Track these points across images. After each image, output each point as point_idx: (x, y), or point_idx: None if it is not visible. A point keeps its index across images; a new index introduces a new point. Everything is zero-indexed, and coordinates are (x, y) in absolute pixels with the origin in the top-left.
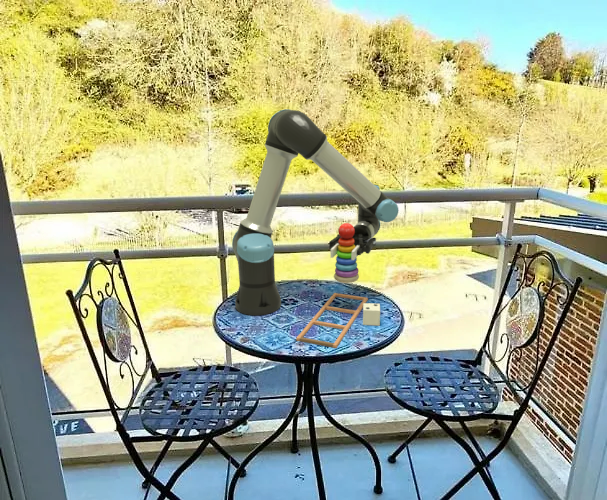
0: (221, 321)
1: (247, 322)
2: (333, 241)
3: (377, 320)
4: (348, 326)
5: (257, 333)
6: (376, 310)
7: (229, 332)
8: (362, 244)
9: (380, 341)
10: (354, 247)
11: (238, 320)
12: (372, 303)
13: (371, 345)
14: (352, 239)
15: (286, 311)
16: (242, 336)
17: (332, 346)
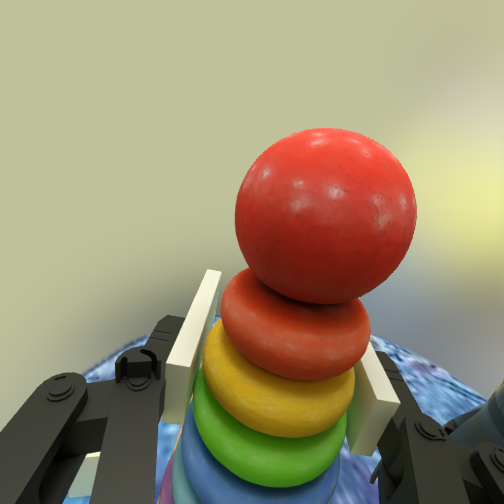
0: (472, 393)
1: (426, 396)
2: (502, 488)
3: None
4: (192, 394)
5: None
6: None
7: (413, 358)
8: (133, 351)
9: (116, 357)
10: (211, 329)
11: (450, 402)
12: (98, 455)
13: (141, 342)
14: (240, 276)
15: None
16: (382, 349)
17: None
